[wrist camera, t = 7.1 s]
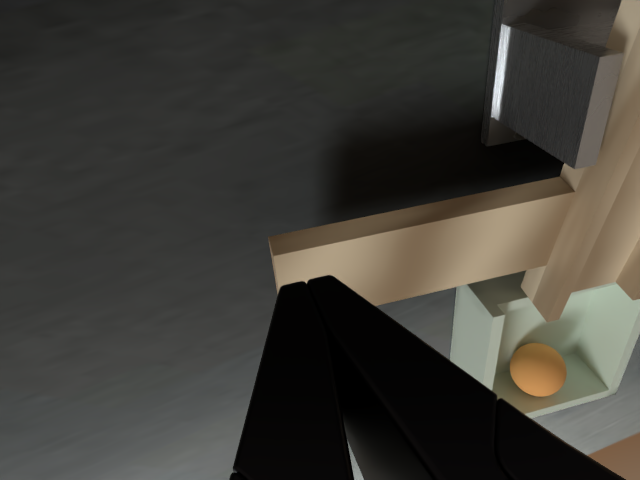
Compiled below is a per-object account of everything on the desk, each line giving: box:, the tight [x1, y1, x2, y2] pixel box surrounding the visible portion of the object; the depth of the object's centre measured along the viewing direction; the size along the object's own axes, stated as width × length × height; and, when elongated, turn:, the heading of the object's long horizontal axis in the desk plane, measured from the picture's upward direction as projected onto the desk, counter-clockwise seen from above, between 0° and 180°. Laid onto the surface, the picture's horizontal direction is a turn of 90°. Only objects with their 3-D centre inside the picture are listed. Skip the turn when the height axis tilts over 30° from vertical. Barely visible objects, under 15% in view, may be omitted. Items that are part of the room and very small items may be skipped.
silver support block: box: [480, 0, 624, 169], centre depth 18 cm, size 8×6×6 cm
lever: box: [268, 0, 640, 322], centre depth 16 cm, size 17×20×5 cm
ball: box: [510, 343, 567, 397], centre depth 28 cm, size 3×3×3 cm
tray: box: [450, 270, 640, 418], centre depth 27 cm, size 9×9×4 cm
